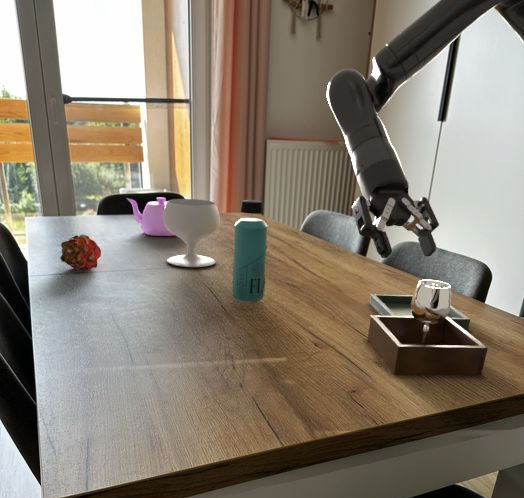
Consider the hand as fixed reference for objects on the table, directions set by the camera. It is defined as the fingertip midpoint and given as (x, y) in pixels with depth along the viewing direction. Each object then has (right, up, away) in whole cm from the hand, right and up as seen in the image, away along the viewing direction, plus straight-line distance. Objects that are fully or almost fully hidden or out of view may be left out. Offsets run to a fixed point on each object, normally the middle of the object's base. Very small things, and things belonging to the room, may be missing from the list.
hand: (409, 254), depth 82 cm
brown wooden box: (+2, -16, 0) cm, 16 cm away
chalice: (-42, +7, +49) cm, 65 cm away
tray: (+7, -9, +19) cm, 22 cm away
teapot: (-56, +22, +82) cm, 102 cm away
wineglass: (+2, -17, 0) cm, 17 cm away
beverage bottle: (-27, -6, +20) cm, 34 cm away
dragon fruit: (-66, +4, +38) cm, 76 cm away
